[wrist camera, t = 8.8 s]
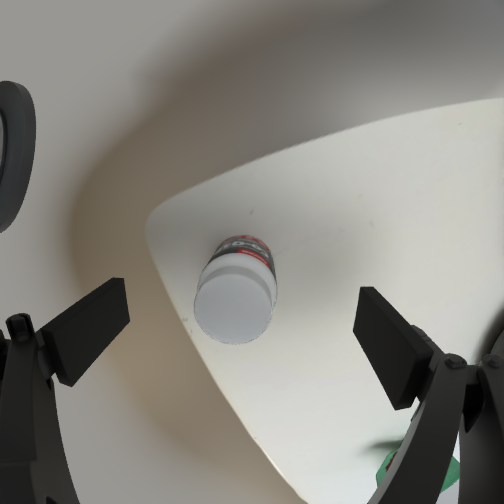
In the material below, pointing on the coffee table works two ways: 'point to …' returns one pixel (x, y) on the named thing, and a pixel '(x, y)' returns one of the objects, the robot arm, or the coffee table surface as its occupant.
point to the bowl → (499, 346)
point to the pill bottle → (237, 291)
